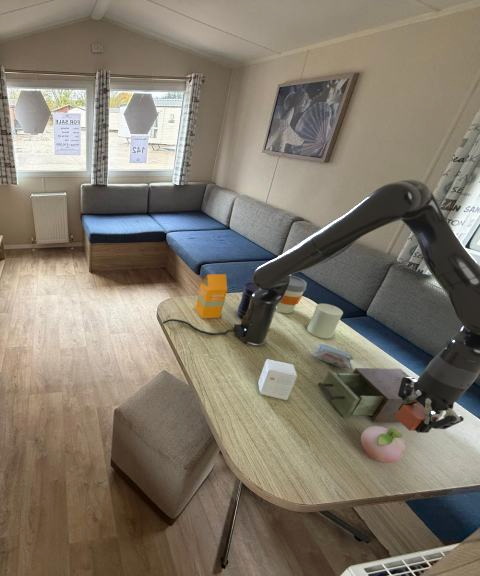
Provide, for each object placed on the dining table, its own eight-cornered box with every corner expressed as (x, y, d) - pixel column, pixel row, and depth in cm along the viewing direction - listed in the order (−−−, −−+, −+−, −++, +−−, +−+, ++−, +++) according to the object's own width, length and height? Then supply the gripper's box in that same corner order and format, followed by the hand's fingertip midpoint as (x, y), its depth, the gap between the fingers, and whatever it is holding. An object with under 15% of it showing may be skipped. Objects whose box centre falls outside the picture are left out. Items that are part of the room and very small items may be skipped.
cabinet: (373, 422, 91) (388, 399, 87) (343, 389, 103) (355, 367, 98) (421, 422, 92) (439, 400, 87) (386, 390, 103) (400, 368, 98)
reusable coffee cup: (295, 305, 151) (305, 277, 144) (298, 317, 141) (309, 289, 134) (266, 299, 156) (275, 272, 148) (267, 311, 145) (277, 283, 138)
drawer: (329, 417, 91) (340, 398, 88) (306, 388, 101) (315, 370, 98) (389, 418, 92) (402, 400, 88) (360, 389, 102) (370, 371, 98)
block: (409, 430, 80) (418, 419, 78) (394, 416, 84) (403, 404, 82) (426, 431, 80) (435, 419, 78) (410, 416, 84) (419, 405, 82)
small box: (283, 388, 102) (294, 364, 97) (287, 401, 98) (298, 376, 93) (257, 382, 104) (266, 358, 100) (259, 394, 100) (268, 369, 95)
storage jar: (234, 309, 146) (241, 281, 139) (255, 311, 145) (264, 283, 138) (239, 321, 137) (248, 292, 130) (262, 323, 136) (272, 294, 129)
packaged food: (349, 375, 109) (355, 364, 106) (310, 360, 115) (315, 349, 113) (351, 363, 115) (356, 352, 112) (314, 349, 121) (318, 339, 119)
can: (336, 333, 131) (347, 310, 125) (326, 341, 126) (338, 316, 120) (312, 323, 137) (322, 300, 132) (302, 329, 133) (312, 306, 127)
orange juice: (195, 309, 145) (203, 270, 136) (212, 308, 146) (222, 270, 137) (201, 318, 138) (210, 278, 129) (220, 317, 139) (230, 278, 130)
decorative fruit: (362, 435, 87) (378, 411, 82) (398, 459, 81) (418, 434, 76) (347, 452, 83) (363, 427, 78) (385, 478, 77) (405, 453, 72)
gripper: (406, 355, 80) (375, 401, 88) (463, 399, 67) (421, 447, 76) (434, 355, 80) (401, 401, 88) (497, 399, 68) (451, 448, 76)
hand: (410, 422), depth 82 cm, fingers closed on block, 4 cm apart
